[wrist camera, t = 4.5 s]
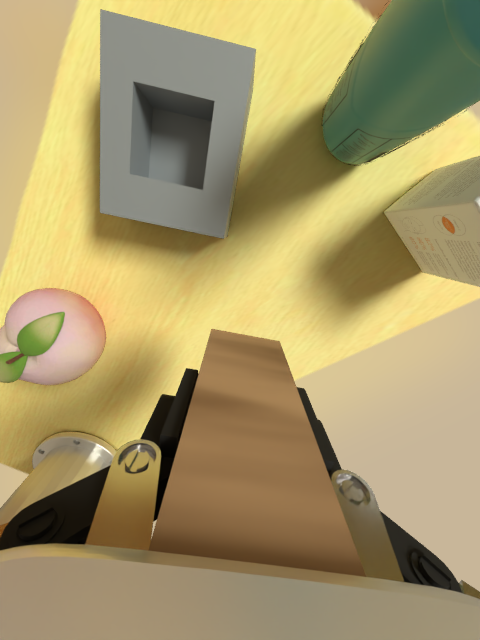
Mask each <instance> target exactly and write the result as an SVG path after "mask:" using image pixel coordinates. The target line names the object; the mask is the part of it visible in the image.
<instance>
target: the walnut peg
mask: <svg viewBox="0 0 480 640" xmlns="http://www.w3.org/2000/svg"><path fill="white" fill-rule="evenodd" d="M148 551H155V552H164V553H173V554H182V555H190V556H199V557H208V558H216V559H225V560H233V561H241V562H250V563H258V564H266V565H275V566H283V567H291V568H299V569H307V570H315V571H323V572H331V573H339V574H347V575H355V576H362V577H366V575H365V572H364V569H363V567H362V564H361V561H360V559H359V556H358V553H357V550H356V548H355V545H354V542H353V540H352V537H351V534H350V531H349V529H348V526H347V523H346V521H345V518H344V515H343V512H342V510H341V507H340V504H339V502H338V499H337V496H336V493H335V491H334V488H333V485H332V483H331V480H330V477H329V474H328V472H327V469H326V466H325V463H324V461H323V458H322V455H321V453H320V450H319V447H318V444H317V442H316V439H315V436H314V434H313V431H312V428H311V425H310V423H309V420H308V417H307V415H306V412H305V409H304V406H303V404H302V401H301V398H300V396H299V393H298V390H297V387H296V385H295V382H294V379H293V377H292V374H291V371H290V368H289V366H288V363H287V360H286V358H285V355H284V352H283V349H282V347H281V344H280V341H275V340H269V339H264V338H259V337H253V336H248V335H242V334H237V333H231V332H226V331H220V330H215V329H211V333H210V336H209V340H208V343H207V347H206V350H205V354H204V357H203V361H202V364H201V368H200V371H199V375H198V378H197V382H196V385H195V389H194V392H193V396H192V399H191V403H190V406H189V410H188V413H187V417H186V420H185V424H184V427H183V431H182V434H181V438H180V441H179V445H178V448H177V452H176V455H175V459H174V462H173V466H172V469H171V473H170V476H169V480H168V483H167V487H166V490H165V494H164V497H163V501H162V504H161V508H160V511H159V515H158V518H157V522H156V526H155V529H154V533H153V536H152V539H151V543H150V546H149V550H148Z"/></svg>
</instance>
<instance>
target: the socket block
mask: <svg viewBox="0 0 480 640" xmlns="http://www.w3.org/2000/svg"><path fill="white" fill-rule="evenodd" d="M255 54H256V49H254V48H250V47H246V46H242V45H238V44H234V43H230V42H226V41H223V40H219V39H215V38H211V37H207V36H203V35H199V34H195V33H191V32H187V31H183V30H180V29H176V28H172V27H168V26H164V25H160V24H156V23H152V22H148V21H144V20H140V19H137V18H133V17H129V16H125V15H121V14H117V13H113V12H109V11H105V10H101V9H100V213H104V214H108V215H113V216H118V217H123V218H127V219H132V220H137V221H142V222H147V223H151V224H156V225H161V226H166V227H170V228H175V229H180V230H185V231H189V232H194V233H199V234H204V235H208V236H213V237H218V238H223V239H224V238H226V237H227V236H228V231H229V225H230V219H231V213H232V207H233V202H234V196H235V190H236V184H237V179H238V173H239V167H240V161H241V156H242V150H243V144H244V138H245V132H246V127H247V121H248V115H249V109H250V104H251V98H252V92H253V83H254V68H255Z"/></svg>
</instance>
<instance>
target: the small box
mask: <svg viewBox="0 0 480 640" xmlns="http://www.w3.org/2000/svg"><path fill="white" fill-rule="evenodd" d="M384 214H385V215H386V217H387V218H388V220H389V221H390V223H391V224H392V226H393V227H394V229H395V231H396V232H397V234H398V235H399V237H400V238H401V240H402V241H403V243H404V244H405V246H406V247H407V249H408V251H409V252H410V254H411V255H412V257H413V258H414V260H415V261H416V263H417V264H418V266H419V267H420V269H421V271H422V272H424V273H427V274H431V275H435V276H439V277H443V278H447V279H451V280H455V281H459V282H463V283H467V284H471V285H475V286H479V287H480V156H477V157H474V158H471V159H468V160H465V161H461V162H458V163H454V164H451V165H448V166H445V167H442V168H439V169H436V170H434V171H433V172H431V173H430V174H429V175H428V176H427V177H425V178H424V179H423V180H422V181H420V182H419V183H418V184H417V185H415V186H414V187H413V188H412V189H411V190H409V191H408V192H407V193H406V194H404V195H403V196H402V197H401V198H400V199H398V200H397V201H396V202H395V203H393V204H392V205H391V206H390V207H389V208H387V209H386V210H385V211H384Z"/></svg>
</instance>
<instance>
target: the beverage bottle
mask: <svg viewBox="0 0 480 640" xmlns="http://www.w3.org/2000/svg"><path fill="white" fill-rule="evenodd" d="M372 24H373V23H372ZM372 28H373V29H372V31H371V32H370V34H369V35H368V37H367V38H366V40H365V42H364V43H363V44H362V45H361V44H360V45H361V46H360V48H359V50H358V49H357V50H358V51H357V50H356V51H357V53H356V52H355V53H356V54H355V56H354V58H353V57H351V58H353V59H352V61H351V60H350V62H349V63H350V64H349V63H348V64H349V66H348V65H347V66H348V67H347V66H346V67H347V69H346V70H344V71H346V72H345V73H344V75H342V76H341V77H342V78H341V80H340V81H339V83H338V84H336V85H337V86H336V85H335V86H336V87H335V86H334V87H335V89H334V91H333V92H332V94H331V96H330V98H329V100H328V102H326V103H327V105H325V111H324V115H323V114H322V116H323V125H322V126H323V136H324V140H325V143H326V145H327V148H328V149H329V151H330V152H331V153H332V155H333V156H334V157H335V158H336V159H339V161H341V162H342V161H343V163H344V162H346V163H350V164H362V163H365V165H366V164H367V163H366V162H370V161H372V160H374V159H376V158H378V157H379V156H381V155H383V154H385V153H386V155H387V154H389V153H390V150H392V149H394V148H395V147H397V146H398V147H397V148H396V149H398V148H400V147H402V146H404V145H406V144H407V143H406V144H405V142H407V141H408V140H410V139H411V141H412V138H414V137H416V136H418V135H419V134H421V133H422V135H424V134H423V133H424V132H425V131H427V130H428V131H427V132H430V131H429V129H431V128H432V127H433V129H432V131H433V130H434V126H436V125H438V124H440V123H442V122H443V121H445V120H447V119H449V118H450V117H452V116H454V115H456V114H457V113H459V112H461V111H462V110H464V109H465V108H467V107H469V106H471V105H473V104H474V103H476V102H478V101H480V0H392V1H391V3H390V4H389V6H388V7H387V8H386V10H385V11H384V13H383V14H382V15H381V17H380V18H379V20H378V21H377V23H376V24H375V25H374V27H372ZM362 42H363V41H362ZM342 74H343V73H342ZM339 79H340V77H339ZM337 82H338V81H337ZM332 90H333V89H332ZM329 95H330V94H329ZM329 95H328V96H329ZM323 110H324V109H323ZM464 112H465V111H464ZM442 124H443V123H442ZM442 126H443V125H442ZM437 128H439V126H437ZM427 132H426V133H427ZM418 138H420V137H418ZM415 139H416V138H415ZM411 141H409V142H408V143H410V142H411ZM401 144H402V146H400V147H399V145H401ZM403 144H404V145H403ZM396 149H395V150H396ZM393 151H394V150H393ZM388 152H389V153H388ZM391 152H392V151H391ZM381 157H383V156H381ZM377 160H378V159H377ZM346 163H345V164H346ZM370 163H371V162H370ZM350 164H348V165H350ZM354 166H360V165H354Z"/></svg>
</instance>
